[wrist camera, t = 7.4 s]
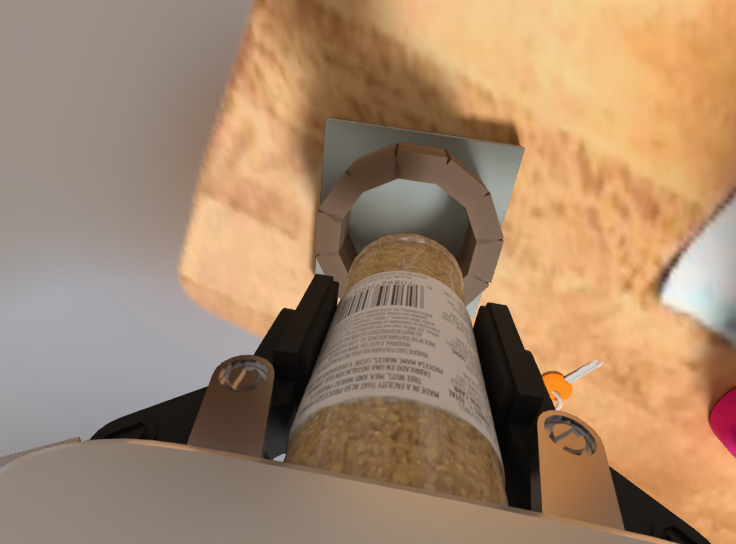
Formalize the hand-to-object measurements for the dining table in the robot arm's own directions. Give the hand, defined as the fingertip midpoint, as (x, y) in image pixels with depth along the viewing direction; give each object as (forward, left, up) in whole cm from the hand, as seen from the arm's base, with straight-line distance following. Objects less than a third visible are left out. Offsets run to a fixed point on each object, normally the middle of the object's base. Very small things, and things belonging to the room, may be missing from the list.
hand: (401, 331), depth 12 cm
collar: (0, 0, -11) cm, 11 cm away
